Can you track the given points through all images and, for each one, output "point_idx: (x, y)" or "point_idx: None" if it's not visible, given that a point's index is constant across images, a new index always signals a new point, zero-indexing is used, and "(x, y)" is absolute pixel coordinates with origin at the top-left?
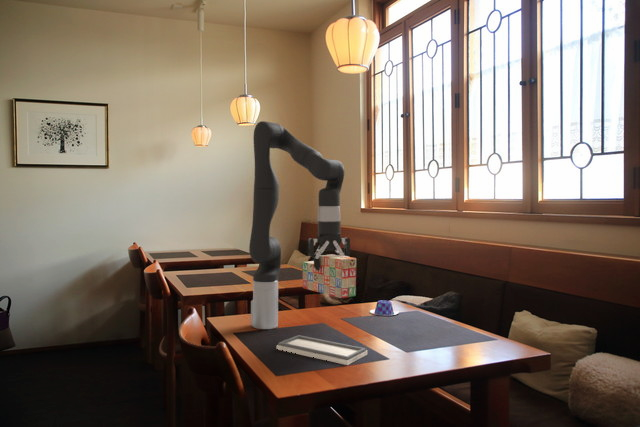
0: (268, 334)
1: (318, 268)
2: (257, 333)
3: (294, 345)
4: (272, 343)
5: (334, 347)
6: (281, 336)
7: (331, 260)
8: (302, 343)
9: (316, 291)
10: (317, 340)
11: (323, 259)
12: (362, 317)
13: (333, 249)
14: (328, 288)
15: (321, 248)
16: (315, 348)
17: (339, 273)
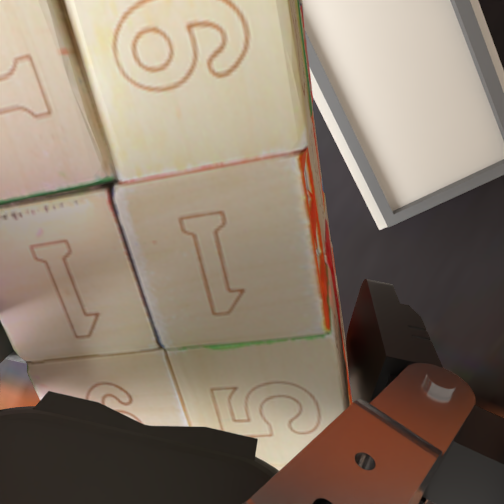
0: (439, 345)
1: (379, 286)
2: (468, 373)
3: (494, 88)
4: (493, 236)
5: (326, 14)
6: (409, 302)
7: (300, 71)
8: (419, 136)
9: (333, 259)
10: (351, 127)
11: (332, 310)
12: (25, 374)
13: (59, 418)
14: (313, 118)
15: (402, 493)
16: (410, 38)
17: None
